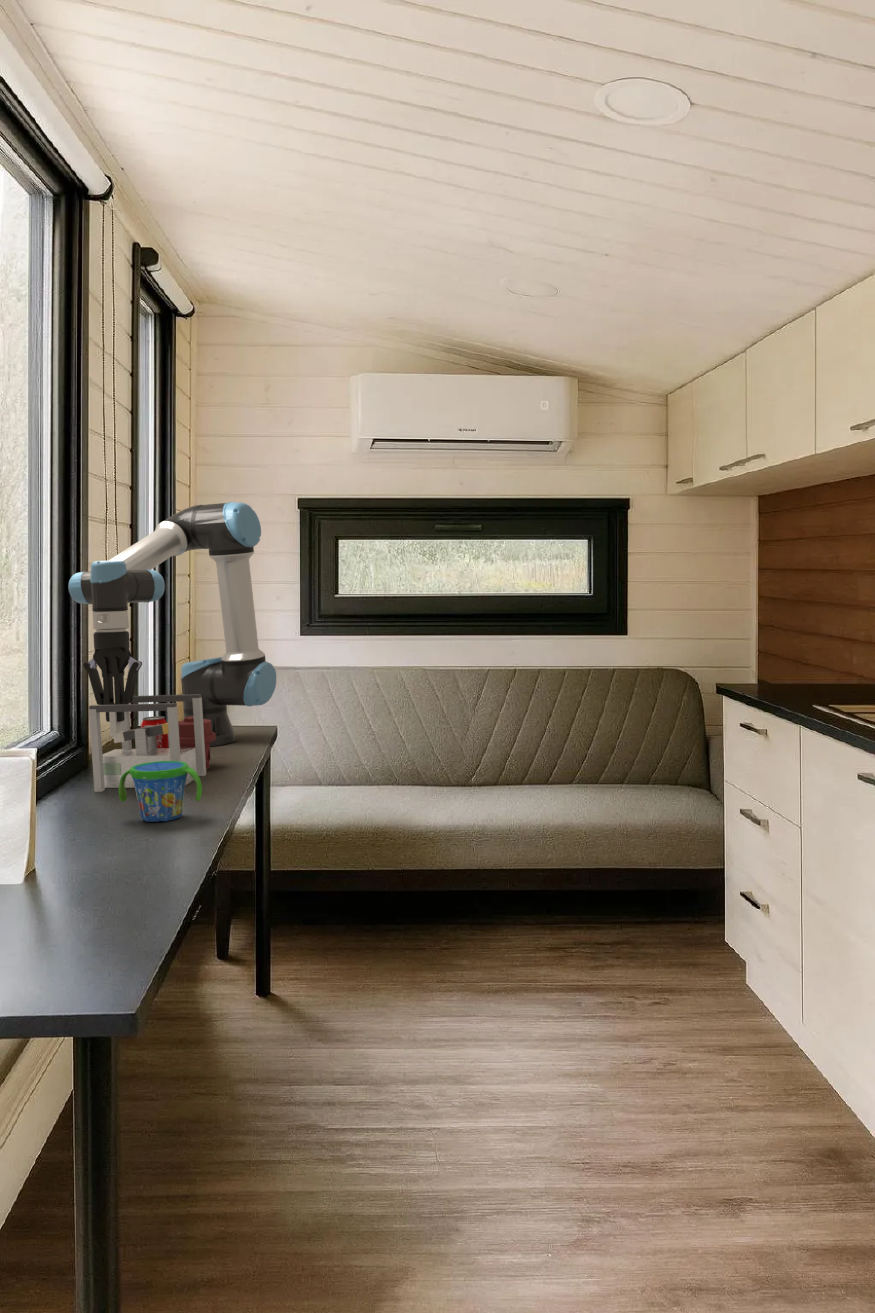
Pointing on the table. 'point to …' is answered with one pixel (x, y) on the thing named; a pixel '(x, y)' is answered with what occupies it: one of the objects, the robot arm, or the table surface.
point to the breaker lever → (151, 730)
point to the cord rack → (125, 725)
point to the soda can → (157, 720)
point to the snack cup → (160, 788)
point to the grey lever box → (140, 759)
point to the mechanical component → (189, 736)
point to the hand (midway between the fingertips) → (116, 736)
